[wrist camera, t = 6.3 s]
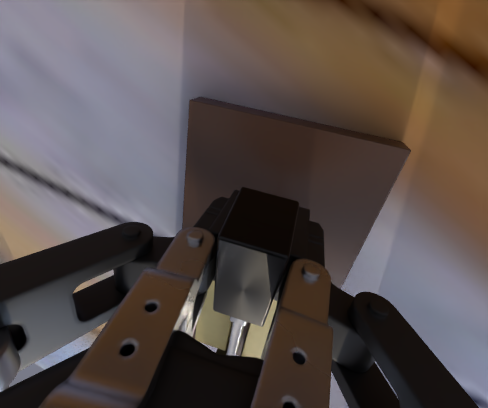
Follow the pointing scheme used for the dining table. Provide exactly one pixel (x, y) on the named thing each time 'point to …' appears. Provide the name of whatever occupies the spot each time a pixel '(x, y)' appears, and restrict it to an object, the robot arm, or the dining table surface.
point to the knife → (252, 258)
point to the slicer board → (291, 172)
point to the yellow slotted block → (219, 328)
